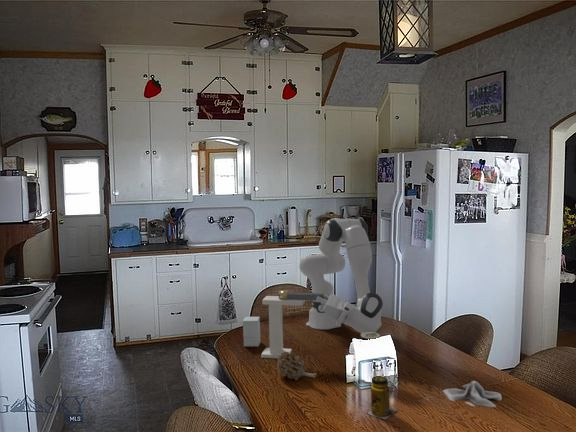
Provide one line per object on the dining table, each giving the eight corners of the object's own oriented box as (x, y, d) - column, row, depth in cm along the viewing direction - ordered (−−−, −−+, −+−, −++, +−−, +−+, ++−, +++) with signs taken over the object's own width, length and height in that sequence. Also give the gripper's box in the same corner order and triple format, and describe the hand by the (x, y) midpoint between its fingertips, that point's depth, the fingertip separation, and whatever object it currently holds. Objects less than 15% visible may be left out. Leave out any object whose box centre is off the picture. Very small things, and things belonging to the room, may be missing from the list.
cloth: (434, 395, 184) (434, 379, 184) (464, 382, 195) (464, 367, 195) (490, 418, 166) (491, 400, 166) (520, 402, 178) (520, 385, 177)
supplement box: (260, 341, 247) (260, 316, 246) (258, 346, 240) (257, 320, 239) (246, 341, 248) (245, 316, 247) (243, 346, 240) (242, 320, 239)
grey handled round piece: (270, 376, 204) (269, 352, 203) (286, 369, 211) (286, 346, 210) (311, 391, 188) (311, 366, 188) (327, 383, 195) (327, 358, 195)
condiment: (366, 413, 170) (365, 379, 169) (378, 404, 177) (378, 371, 176) (385, 420, 166) (385, 384, 165) (397, 410, 172) (397, 376, 171)
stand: (266, 350, 234) (264, 295, 232) (306, 352, 230) (305, 296, 228) (261, 357, 225) (259, 300, 223) (303, 359, 221) (302, 301, 219)
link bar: (280, 297, 228) (280, 290, 228) (324, 298, 224) (324, 291, 224) (278, 299, 224) (277, 292, 224) (323, 300, 220) (323, 293, 219)
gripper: (350, 300, 230) (324, 284, 232) (346, 312, 210) (317, 295, 212) (343, 311, 231) (317, 296, 233) (339, 324, 211) (310, 307, 213)
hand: (317, 295), depth 222 cm, fingers open, 3 cm apart
